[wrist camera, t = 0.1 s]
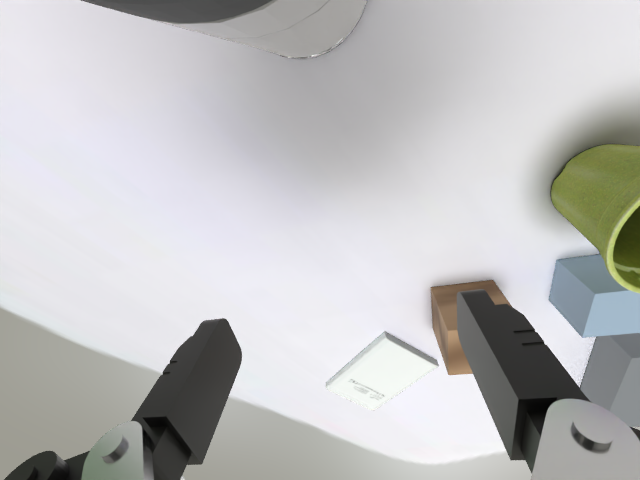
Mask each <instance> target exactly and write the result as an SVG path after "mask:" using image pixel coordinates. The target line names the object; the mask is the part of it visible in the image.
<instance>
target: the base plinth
mask: <svg viewBox="0 0 640 480" xmlns="http://www.w3.org/2000/svg"><path fill="white" fill-rule="evenodd" d="M580 389H581V391H582V392H583V393H584V395H585V396H586V397H587V398H588V399H589V400H590V401H591V402H592V403H594V404H596V405H598V406H601V407H603V408H605V409H606V410H608V411H610V412H611V413H613V414H614V415H616V416H617V417H619V418H620V419H621V420H622V421H623V422H625V423H626V424H627V425H628V426H629V427H640V333H632V334H620V335H608V336H597V337H596V340H595V343H594V346H593V350H592V353H591V356H590V359H589V362H588V365H587V368H586V371H585V374H584V377H583V380H582V383H581V386H580Z"/></svg>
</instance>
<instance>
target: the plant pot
mask: <svg viewBox="0 0 640 480" xmlns="http://www.w3.org/2000/svg"><path fill="white" fill-rule="evenodd" d="M551 199H552V203H553V205H554V207H555V208H556V209H557V210H558V211H559V212H560V213H561V214H562V215H563V216H564V217H565V218H566V219H567V220H568V221H569V222H570V223H571V224H572V225H573V226H574V227H575V228H576V229H578V230H579V231H580V232H581V233H582V234H583V235H584V236H585V237H586V238H587V239H588V240H589V241H590V242H591V243H592V244H593V245H594V246H595V247H596V248H597V249H598V250H599V252H600V254H601V256H602V258H603V259H604V262H605V266H606V268H607V270H608V272H609V274H610V275H611V276H612V277H613V279H614V280H615V281H617V282H618V283H619V284H620V285H621V286H623V287H624V288H626V289H628V290H630V291H633V292H636V293H639V294H640V146H632V145H620V144H605V145H600V146H596V147H593V148H590V149H588V150H586V151H584V152H582V153H580V154H578V155H577V156H575V157H574V158H573V159H571V160H570V161H569V162H568V163H567V164H566V167H565V168H564V170H563V171H562V173H561V174H560V175H559V176H558V177H557V178H556V179H555V180H554V182H553V185H552V190H551Z"/></svg>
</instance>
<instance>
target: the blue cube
mask: <svg viewBox="0 0 640 480" xmlns="http://www.w3.org/2000/svg"><path fill="white" fill-rule="evenodd" d="M549 301H550V302H551V303H552V304H553V305H554V306H555V308H556V309H557V310H558V311H559V312H560V313H561V314H562V315H563V317H564V318H565V319H566V320H567V321H568V322H569V323H570V324H571V326H572V327H573V328H574V329H575V330H576V331H577V332H578V333H579V335H580V336H581V337H582V338H584V337H596V336H608V335H620V334H632V333H640V294H639V293H636V292H633V291H630V290H628V289H626V288H624V287H623V286H621V285H620V284H619V283H618V282H617V281H615V280H614V279H613V277H612V276H611V275H610V274H609V272H608V270H607V268H606V266H605V262H604V259H603V258H602V256H601V254H599V255H591V256H583V257H575V258H567V259H559V260H556V265H555V270H554V275H553V280H552V286H551V291H550V296H549Z"/></svg>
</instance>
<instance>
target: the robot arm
mask: <svg viewBox="0 0 640 480" xmlns="http://www.w3.org/2000/svg"><path fill="white" fill-rule="evenodd" d="M82 1H85V2H88V3H92V4H96V5H99V6H103V7H106V8H110V9H114V10H117V11H121V12H124V13H128V14H132V15H135V16H139V17H144V18H147V19H151V20H155V21H158V22H162V23H166V24H169V25H173V26H177V27H180V28H184V29H188V30H191V31H195V32H200V33H203V34H207V35H210V36H214V37H218V38H221V39H225V40H229V41H232V42H236V43H240V44H243V45H247V46H250V47H254V48H258V49H261V50H265V51H269V52H272V53H275V54H279V55H280V56H283V57H287V58H294V59H296V58H297V59H299V58H300V59H306V58H313V57H317V56H320V55H322V54H325V53H327V52H330V51H331V50H332V49H334V48H335V47H337V46H338V45H339V44H341V43H342V42H343V41H344V40H345V39H346V37H347V36H348V35H349V34H350V33H351V32H352V31H353V29H354V28H355V26H356V24H357V23H358V21H359V19H360V18H361V16H362V13H363V11H364V8H365V6H366V3H367V1H368V0H82ZM457 331H458V336H459V340H460V344H461V347H462V349H463V351H464V354H465V356H466V358H467V361H468V363H469V365H470V368H471V370H472V372H473V374H474V377H475V379H476V381H477V384H478V386H479V388H480V391H481V393H482V395H483V398H484V400H485V402H486V404H487V407H488V409H489V411H490V414H491V416H492V418H493V421H494V423H495V425H496V427H497V430H498V432H499V434H500V437H501V439H502V441H503V444H504V446H505V448H506V451H507V453H508V455H509V457H510V459H511V460H526V462H527V464H528V467H529V469H530V471H531V473H532V476H531V480H640V430H637V429H635V428H632V427H629V426H628V425H627V424H626V423H625V422H623V421H622V420H621V419H620V418H619V417H617V416H616V415H614V414H613V413H611V412H610V411H608V410H606V409H605V408H603V407H601V406H598V405H596V404H594V403H592V402H591V401H590V400H589V399H588V398H587V397H586V396H585V395H584V393H583V392H582V391H581V389H580V388H579V387H578V385H577V384H576V383H575V381H574V380H573V379H572V378H571V376H570V375H569V374H568V372H567V371H566V370H565V368H564V367H563V366H562V364H561V363H560V362H559V361H558V359H557V358H556V357H555V355H554V354H553V353H552V351H551V350H550V349H549V348H548V346H547V345H545V344H544V341H543V340H542V338H541V337H540V336H539V334H538V333H537V332H535V329H534V328H533V327H532V325H531V324H530V323H529V321H528V320H527V319H526V318H525V316H524V315H523V314H521V313H520V312H518V311H517V310H515V309H514V308H512V307H511V306H509V305H508V304H499V305H495V304H494V302H493V301H492V299H491V298H490V296H489V295H488V293H487V292H486V291H485V290H484V289H478V290H470V291H461V292H458V293H457ZM241 360H242V353H241V348H240V346H239V344H238V342H237V339H236V337H235V335H234V333H233V331H232V329H231V327H230V325H229V323H228V321H227V320H226V319H214V320H206V321H203V322H202V323H201V324H200V326H199V327H198V329H197V331H196V332H195V334H194V335H193V336H191V337H190V338H189V339H188V340H187V341H185V342H184V343H183V344H182V345H181V346H180V347H179V348H178V350H177V351H176V353H175V354H174V356H173V357H172V359H171V360H170V364H168V365H167V366H166V368H165V369H164V371H163V375H161V376H160V377H159V379H158V380H157V382H156V384H155V385H154V386H153V388H152V389H151V391H150V393H149V394H148V396H147V397H146V399H145V400H144V402H143V403H142V405H141V406H140V408H139V409H138V411H137V413H136V414H135V416H134V417H133V419H132V420H131V421H128V422H124V423H122V424H120V425H117V426H116V427H114V428H112V429H111V430H110V431H108V432H107V433H106V434H105V435H104V436H102V437H101V438H100V439H99V440H98V441H97V443H96V444H95V445H94V446H93V448H92V449H91V450H90V451H88V452H86V453H83V454H80V455H77V456H75V457H72V458H70V459H67V460H62V459H61V458H60V457H59V456H58V455H57V454H56V453H55V452H53V451H45V452H42V453H39V454H37V455H35V456H33V457H31V458H30V459H28V460H26V461H25V462H23V463H22V464H21V465H20V466H18V467H17V468H16V469H15V470H14V471H12V472H11V473H10V474H9V475H8V476H7V477H6V478H5V479H4V480H185V479H184V477H183V476H182V475H183V472H184V470H185V467H186V465H193V464H194V465H195V464H202V463H203V460H204V458H205V455H206V453H207V450H208V447H209V445H210V442H211V439H212V437H213V435H214V432H215V429H216V427H217V424H218V422H219V419H220V417H221V414H222V411H223V409H224V406H225V404H226V401H227V399H228V396H229V393H230V391H231V388H232V386H233V383H234V381H235V378H236V375H237V373H238V370H239V368H240V365H241Z"/></svg>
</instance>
